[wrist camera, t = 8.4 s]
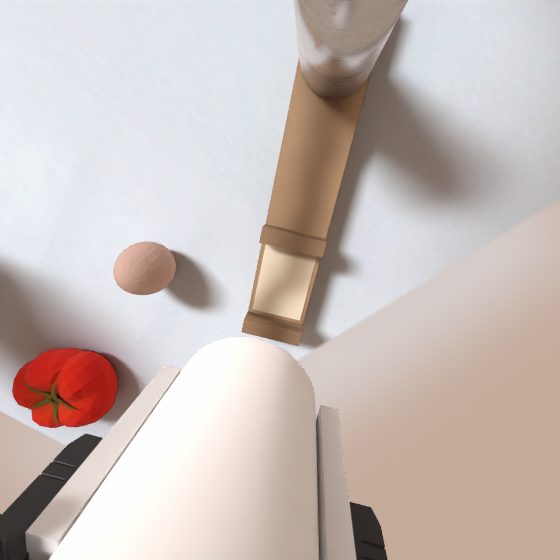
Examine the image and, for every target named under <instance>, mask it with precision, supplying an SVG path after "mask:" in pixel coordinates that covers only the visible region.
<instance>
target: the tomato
mask: <svg viewBox="0 0 560 560" xmlns="http://www.w3.org/2000/svg"><path fill="white" fill-rule="evenodd" d="M117 388H118V383H117V376H116V372H115V370H114V369H113V367H112V365H111V363H110V362H109V361H108V360H107V359H105V358H104V357H103V356H102V355H100V354H97V353H95V352H93V351H81V350H79V349H77V348H63V349H51V350H48V351H46V352H43V353H41V354H40V355H39V356H38V357H37V358H36V359H35V360H33V361H30V362H28V363H26V364H25V365H24V366H23V367H22V368H21V369H20V370H19V371H18V373H17V375H16V377H15V379H14V383H13V389H12V391H13V397H14V398H15V400H16V402H17V403H18V405H20V406H23V407H26V408H29V409H31V410H32V420H33V421H34V422H36V423H37V424H38V425H39V426H44V427H49V428H57V427H60V426H63V425H65V426H67V427H80V426H84V425H88V424H91V423H94V422H96V421H97V420H99V419H100V418H101V417H103V416H104V415H105V414H106V413H107V412H108V411H109V410H110V409H111V408H112V406H113V404H114V403H115V399H116V395H117Z"/></svg>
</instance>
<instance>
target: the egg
mask: <svg viewBox="0 0 560 560" xmlns="http://www.w3.org/2000/svg"><path fill="white" fill-rule="evenodd" d="M175 272H176V261H175V258H174V256H173V254H172V253H171V252H170V251H169V250H168V249H167V248H166V247H165V246H163V245H161V244H158V243H156V242H139V243H136V244H134V245H131V246H130V247H128V248H127V249H125V250H124V251H123V252H122V253H121V254H120V255H119V257H118V258H117V260H116V262H115V265H114V273H113V274H114V278H115V281H116V282H117V284H118V286H119V287H120V288H121V289H123V290H125V291H127V292H129V293H132V294H137V295H149V294H153V293H156V292H159V291H160V290H162V289H164V288H165V287H166V286H168V285H169V283H170V282H171V281H172V279H173V278H174V275H175Z"/></svg>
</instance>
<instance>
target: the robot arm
mask: <svg viewBox="0 0 560 560" xmlns="http://www.w3.org/2000/svg"><path fill="white" fill-rule="evenodd" d="M179 374H180V369H176V368H172V367H168V366H164V365H163V367H162V368H161V369H160V370H159V372H158V373H157V374H156V375H155V376H154V378H153V379H152V380H151V381H150V382H149V384H148V385H147V386H146V387H145V388H144V390H143V391H142V392H141V393H140V395H139V396H138V397H137V398H136V399H135V401H134V402H133V403H132V404H131V405H130V407H129V408H128V409H127V410H126V411H125V413H124V414H123V415H122V416H121V417H120V419H119V420H118V421H117V422H116V424H115V425H114V426H113V427H112V428H111V430H110V431H109V432H108V433H107V434H106V436H105V437H104V438H100V437H97V436H93V435H89V434H84V435H83V436H81V437H79V438H78V439H76V440H75V441H73V442H71V443H70V444H68V445H67V446H66V447H65V448H64V449H63V450H62V452H61V453H60V454H59V455H58V456H57V457H56V458H55V459H54V461H53V462H51V463H50V464H49V465H48V466H47V467H46V468H45V470H44V471H43V472H42V474H41V475H39V476H38V477H37V478H36V479H35V480H34V481H33V482H32V483H31V484H30V485H29V486H28V488H27V489H26V490H25V491H24V492H23V493H22V494H21V495H20V496H19V497H18V498H17V499H16V500H15V501H14V503H12V505H11V506H10V507H9V508H8V509H7V510H6V511H5V512H4V513H3V514H2V515H1V514H0V560H49V559H50V557H51V556H52V554H53V553H54V552H55V550H56V549H57V547H58V546H59V544H60V543H61V542H62V540H63V539H64V537H65V536H66V534H67V533H68V532H69V530H70V529H71V527H72V526H73V524H74V523H75V522H76V520H77V519H78V517H79V516H80V514H81V513H82V512H83V510H84V509H85V507H86V506H87V504H88V503H89V502H90V500H91V499H92V497H93V496H94V494H95V493H96V492H97V490H98V489H99V487H100V486H101V484H102V483H103V482H104V480H105V479H106V477H107V476H108V474H109V473H110V472H111V470H112V469H113V467H114V466H115V464H116V463H117V462H118V460H119V459H120V457H121V456H122V454H123V453H124V452H125V450H126V449H127V447H128V446H129V444H130V443H131V442H132V440H133V439H134V437H135V436H136V435H137V433H138V432H139V430H140V429H141V427H142V426H143V425H144V423H145V422H146V420H147V419H148V417H149V416H150V415H151V413H152V412H153V410H154V409H155V408H156V406H157V405H158V403H159V402H160V400H161V399H162V398H163V396H164V395H165V393H166V392H167V391H168V389H169V388H170V386H171V385H172V384H173V382H174V381H175V379H176V378H177V377H178V375H179ZM316 449H317V490H318V533H319V560H387V555H386V550H385V549H384V547H385V545H384V541H383V536H382V530H381V526H380V524H379V522H378V520H377V518H376V516H375V514H374V512H373V510H372V508H371V507H367V506H363V505H360V504H356V503H352V502H349V495H348V486H347V479H346V470H345V462H344V453H343V446H342V437H341V429H340V420H339V412H338V409H334V408H330V407H326V406H322V405H321V406H320V409H319V413H318V416H317V419H316Z"/></svg>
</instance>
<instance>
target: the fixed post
mask: <svg viewBox="0 0 560 560" xmlns="http://www.w3.org/2000/svg"><path fill="white" fill-rule="evenodd" d="M407 1H408V0H294V5H295V16H296V27H297V38H298V49H299V60H300V69H301V73H302V76H303V79H304V81H305V83H306V84H307V86H308V87H309V88H310V89H311V90H312V91H313V92H314V93H315V94H317V95H318V96H320V97H322V98H326V99H342V98H345V97H347V96H350V95H351V94H353V93H354V92H356V91H357V90H358V89H359V88H360V87H361V86H362V85H363V84H364V82H365V81H366V79H367V78H368V76H369V74H370V72H371V70H372V68H373V66H374V64H375V62H376V61H377V59H378V57H379V55H380V53H381V51H382V49H383V47H384V45H385V43H386V41H387V39H388V37H389V36H390V34H391V32H392V30H393V28H394V26H395V24H396V22H397V20H398V18H399V16H400V14H401V12H402V11H403V9H404V7H405V5H406V3H407Z"/></svg>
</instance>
